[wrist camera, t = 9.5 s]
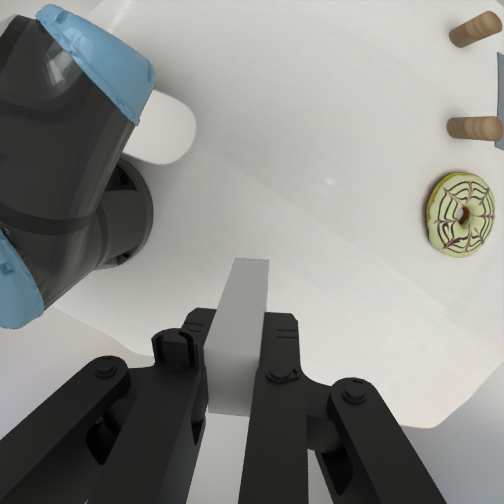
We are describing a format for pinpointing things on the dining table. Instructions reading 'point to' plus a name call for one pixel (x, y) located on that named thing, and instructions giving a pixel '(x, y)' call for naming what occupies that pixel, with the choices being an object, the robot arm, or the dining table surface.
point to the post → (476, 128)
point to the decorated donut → (446, 214)
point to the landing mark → (500, 96)
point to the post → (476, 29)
